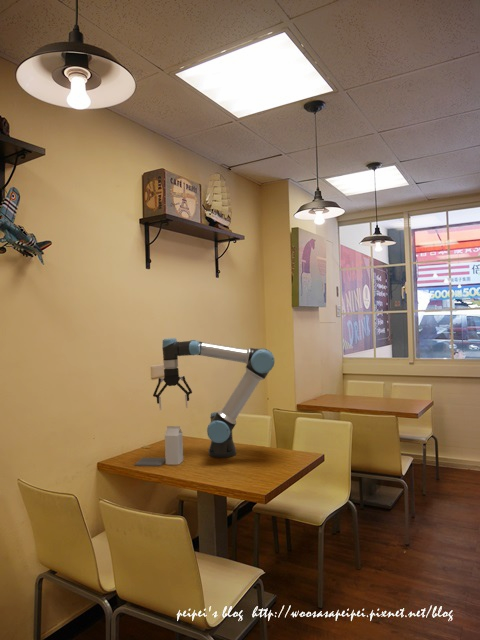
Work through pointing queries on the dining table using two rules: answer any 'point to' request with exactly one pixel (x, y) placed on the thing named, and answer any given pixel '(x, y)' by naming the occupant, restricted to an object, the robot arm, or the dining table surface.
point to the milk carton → (173, 445)
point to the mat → (150, 462)
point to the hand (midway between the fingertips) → (173, 408)
